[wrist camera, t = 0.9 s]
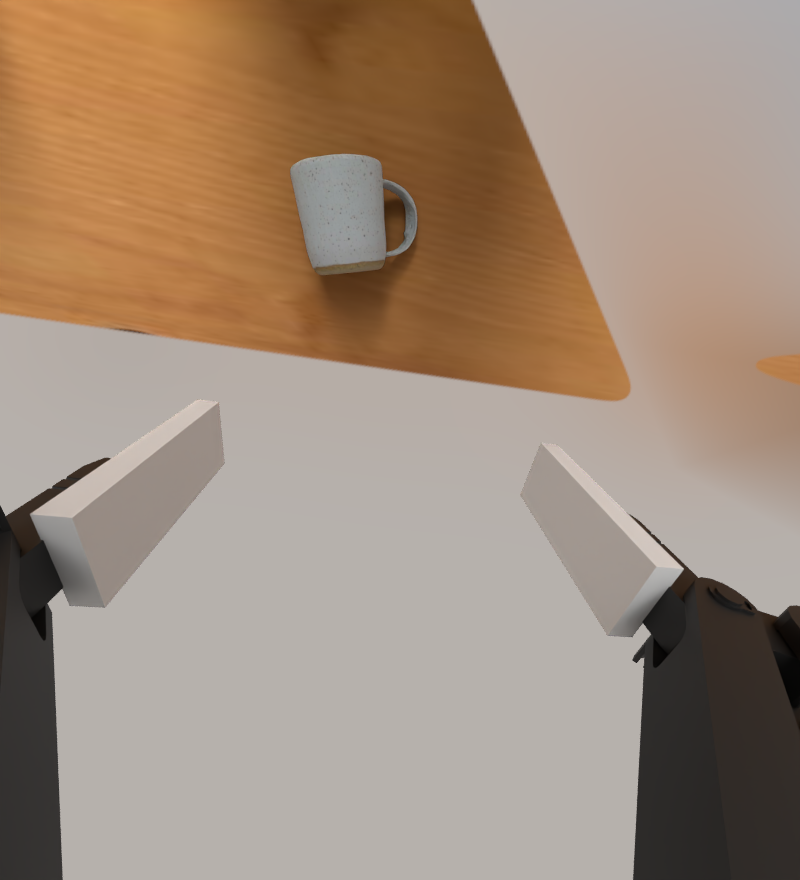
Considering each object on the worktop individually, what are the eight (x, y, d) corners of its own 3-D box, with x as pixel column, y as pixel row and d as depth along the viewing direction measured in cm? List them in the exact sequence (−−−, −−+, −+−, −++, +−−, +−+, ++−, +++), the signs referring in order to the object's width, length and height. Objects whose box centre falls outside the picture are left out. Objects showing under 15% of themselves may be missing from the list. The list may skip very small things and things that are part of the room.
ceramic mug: (318, 278, 34) (305, 277, 28) (299, 181, 31) (278, 153, 24) (418, 265, 35) (429, 262, 28) (411, 168, 31) (422, 136, 24)
